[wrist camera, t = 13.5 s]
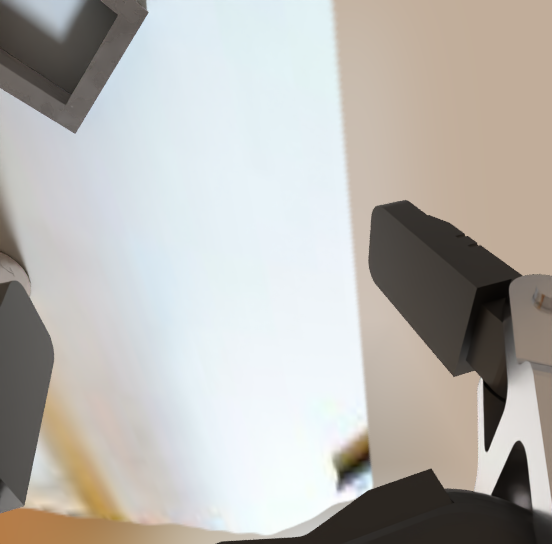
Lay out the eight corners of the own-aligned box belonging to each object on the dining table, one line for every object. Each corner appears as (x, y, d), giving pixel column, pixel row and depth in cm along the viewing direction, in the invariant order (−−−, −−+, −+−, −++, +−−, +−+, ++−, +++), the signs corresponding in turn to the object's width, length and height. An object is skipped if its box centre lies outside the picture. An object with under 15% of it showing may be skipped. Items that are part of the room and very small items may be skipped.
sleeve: (80, 120, 36) (75, 133, 33) (-64, 30, 30) (-87, 34, 27) (146, 10, 33) (148, 12, 30) (1, -114, 27) (-16, -128, 24)
